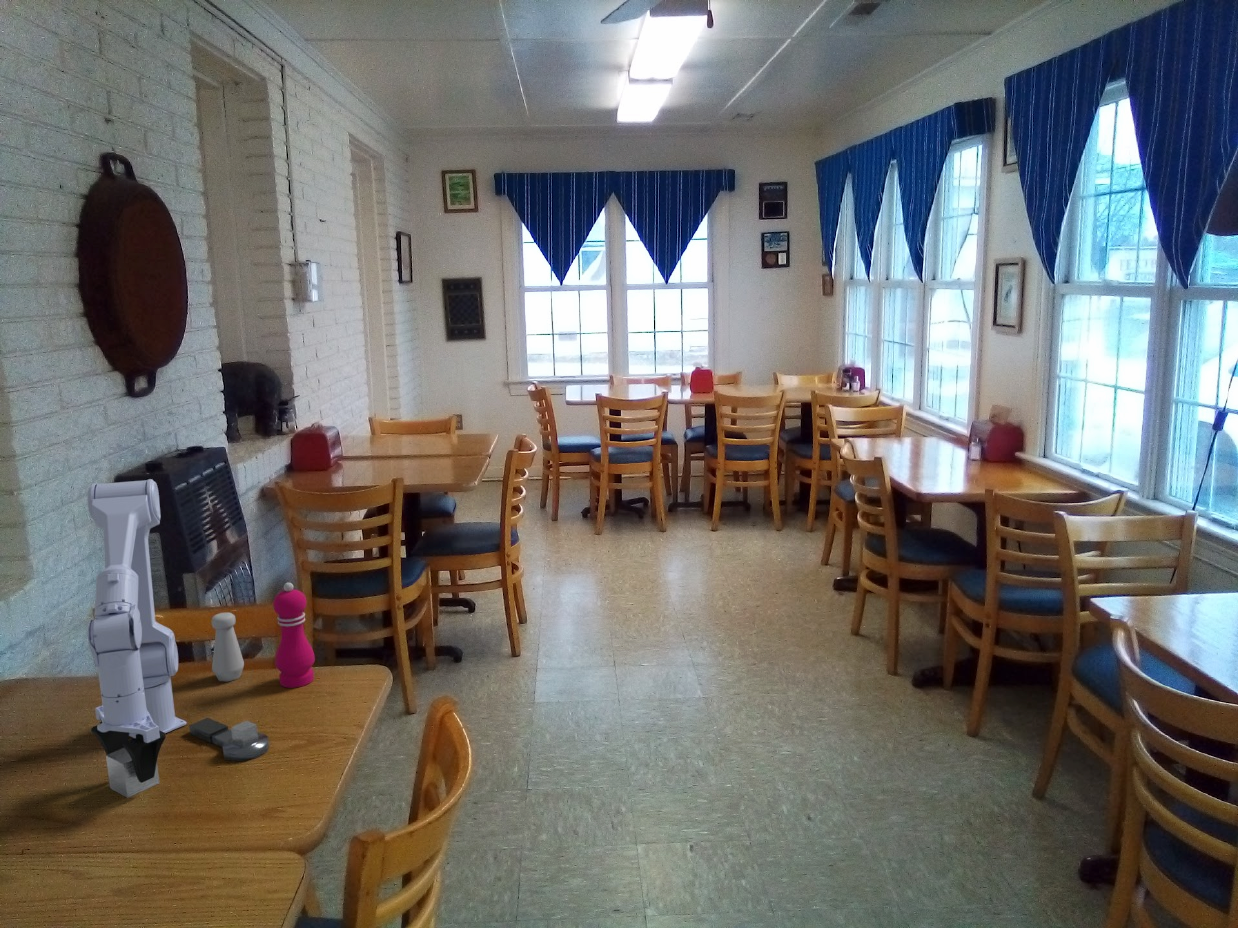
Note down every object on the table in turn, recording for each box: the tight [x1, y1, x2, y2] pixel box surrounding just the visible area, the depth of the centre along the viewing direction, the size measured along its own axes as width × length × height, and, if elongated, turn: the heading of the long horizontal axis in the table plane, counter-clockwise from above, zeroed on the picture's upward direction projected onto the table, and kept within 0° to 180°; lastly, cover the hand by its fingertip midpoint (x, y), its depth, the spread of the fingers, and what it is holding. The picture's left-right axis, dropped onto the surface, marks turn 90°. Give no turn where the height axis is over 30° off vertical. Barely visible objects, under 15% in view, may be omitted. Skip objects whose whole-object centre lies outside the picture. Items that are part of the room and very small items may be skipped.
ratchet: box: [188, 717, 270, 762], centre depth 155 cm, size 17×7×4 cm, turn 56°
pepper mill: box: [272, 582, 316, 689], centre depth 178 cm, size 7×7×20 cm
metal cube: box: [105, 748, 160, 799], centre depth 142 cm, size 5×5×6 cm
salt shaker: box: [211, 612, 245, 683], centre depth 181 cm, size 6×6×13 cm
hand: (133, 772), depth 142 cm, fingers open, 7 cm apart
